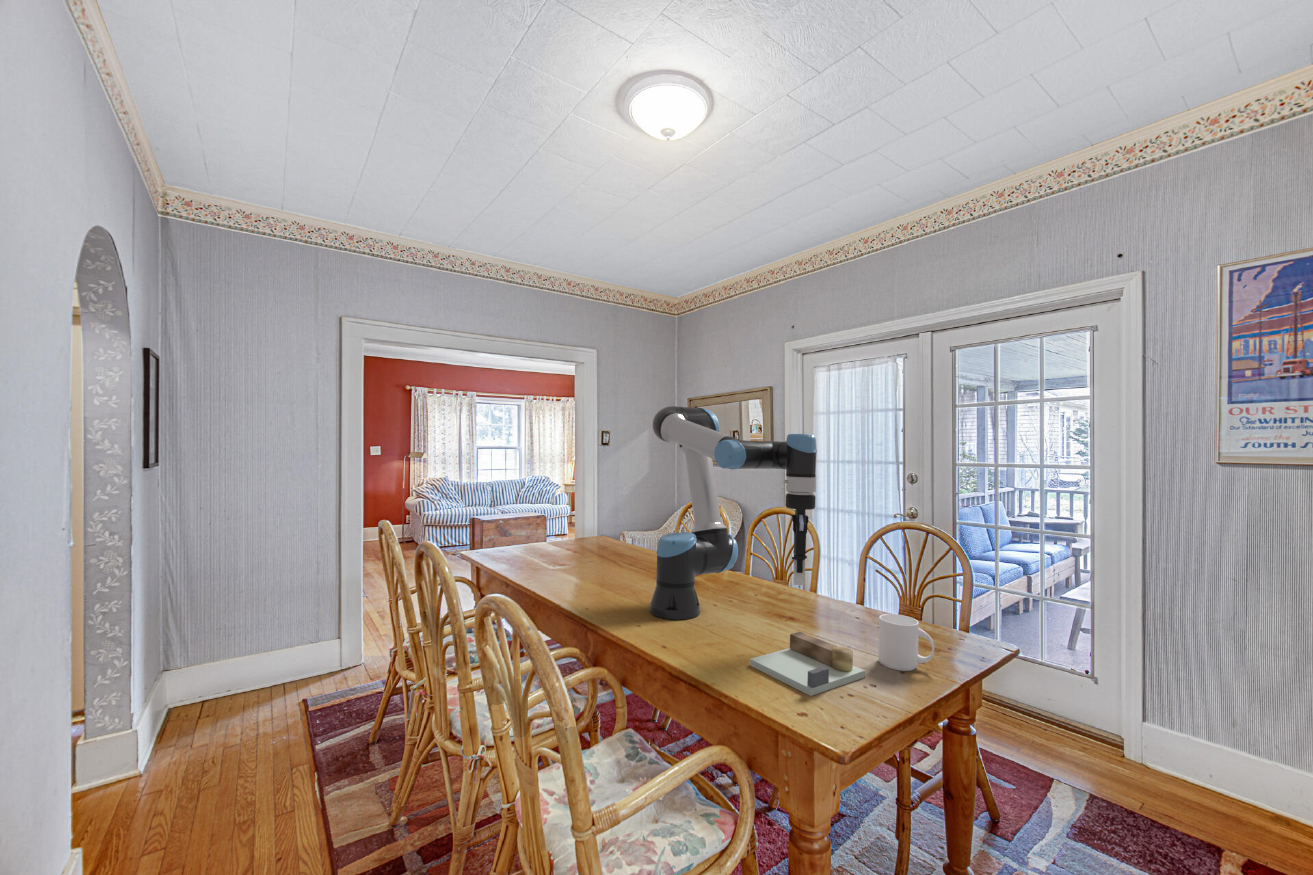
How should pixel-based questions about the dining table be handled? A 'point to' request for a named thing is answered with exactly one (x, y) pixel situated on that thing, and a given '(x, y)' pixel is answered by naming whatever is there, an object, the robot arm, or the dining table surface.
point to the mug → (900, 642)
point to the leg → (822, 651)
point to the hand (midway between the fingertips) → (798, 584)
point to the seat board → (802, 670)
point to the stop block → (818, 677)
